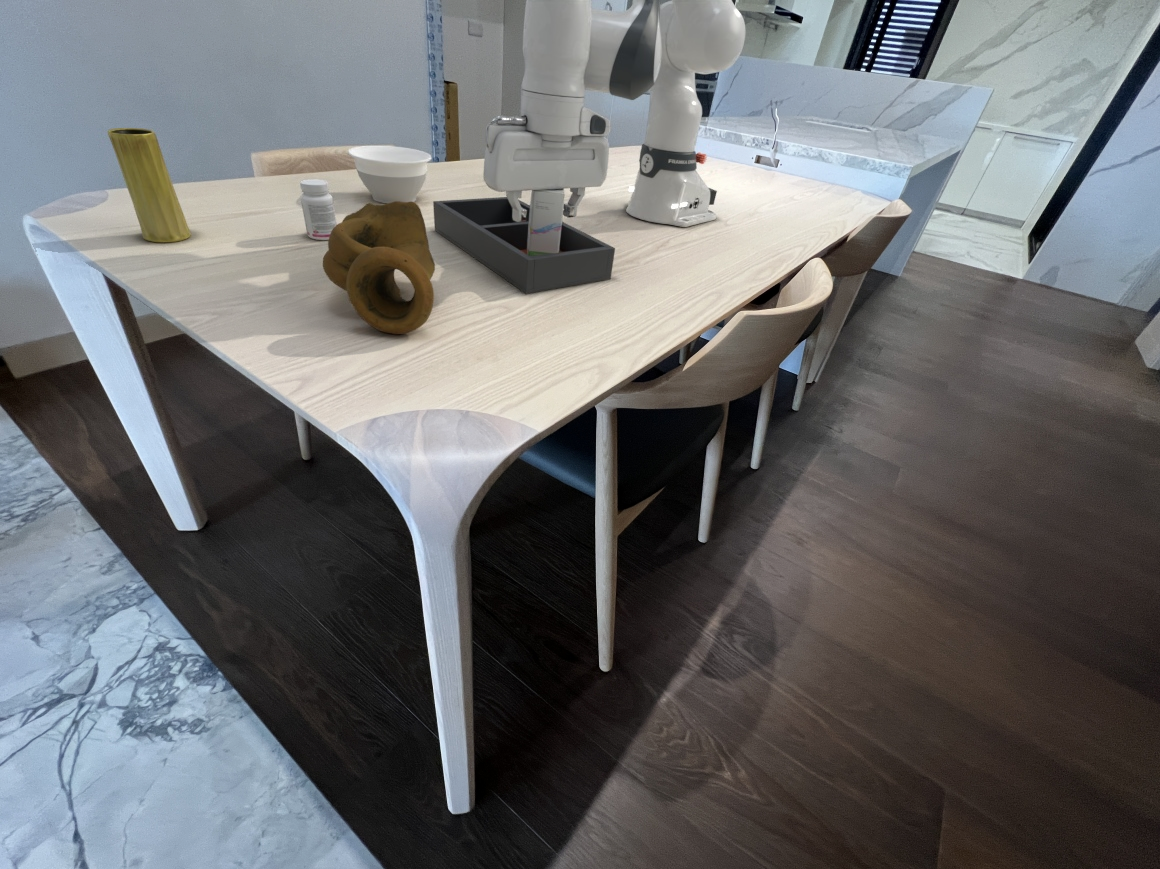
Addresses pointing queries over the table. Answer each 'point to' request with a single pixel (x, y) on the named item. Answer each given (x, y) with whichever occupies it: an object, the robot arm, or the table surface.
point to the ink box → (545, 221)
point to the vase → (149, 184)
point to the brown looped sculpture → (383, 264)
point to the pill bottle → (317, 208)
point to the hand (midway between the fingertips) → (545, 218)
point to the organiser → (521, 245)
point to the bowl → (391, 171)
